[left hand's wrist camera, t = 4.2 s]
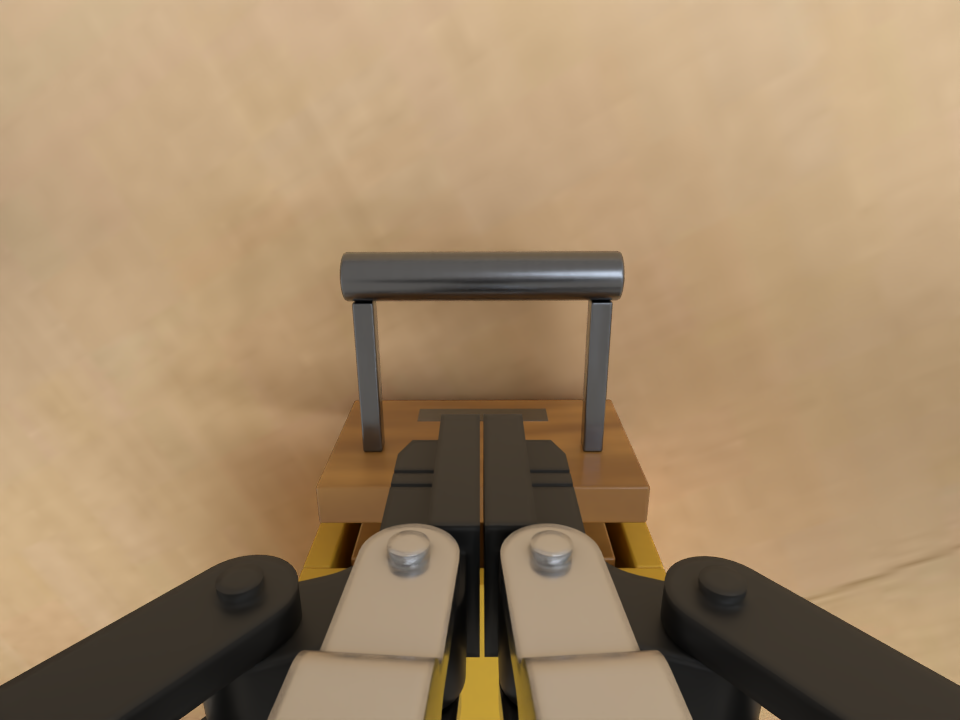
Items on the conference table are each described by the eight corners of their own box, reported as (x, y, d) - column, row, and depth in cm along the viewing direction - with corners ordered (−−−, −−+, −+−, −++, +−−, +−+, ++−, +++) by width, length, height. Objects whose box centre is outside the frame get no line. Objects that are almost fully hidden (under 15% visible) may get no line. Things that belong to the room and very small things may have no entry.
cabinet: (348, 451, 25) (294, 586, 18) (618, 450, 25) (672, 586, 18) (377, 789, 32) (346, 987, 25) (591, 789, 32) (623, 988, 25)
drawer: (341, 230, 21) (291, 271, 16) (623, 229, 21) (672, 270, 16) (382, 750, 30) (359, 896, 24) (585, 750, 30) (609, 897, 24)
